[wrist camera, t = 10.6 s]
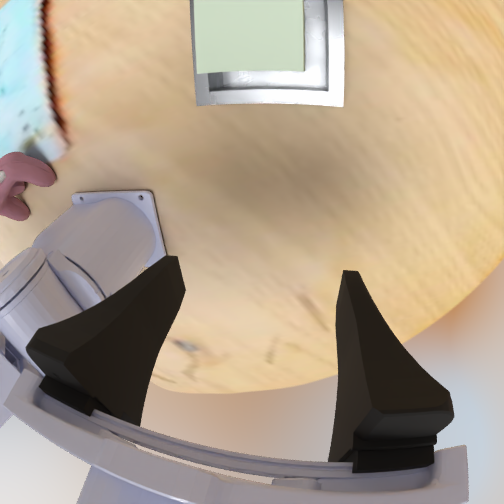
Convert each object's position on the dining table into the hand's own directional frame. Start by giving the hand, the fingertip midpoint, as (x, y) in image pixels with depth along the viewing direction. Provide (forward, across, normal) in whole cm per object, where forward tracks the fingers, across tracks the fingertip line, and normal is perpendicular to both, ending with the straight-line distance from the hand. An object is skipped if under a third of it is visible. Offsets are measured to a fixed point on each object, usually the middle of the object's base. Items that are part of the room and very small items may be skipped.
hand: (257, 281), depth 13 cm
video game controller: (+10, +27, -2) cm, 29 cm away
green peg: (+10, 0, -10) cm, 14 cm away
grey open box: (+10, 0, -10) cm, 15 cm away
